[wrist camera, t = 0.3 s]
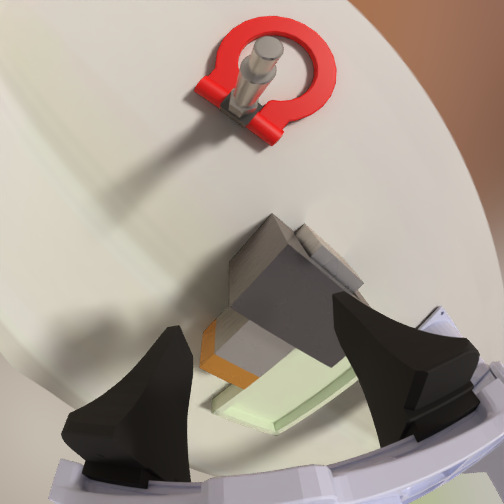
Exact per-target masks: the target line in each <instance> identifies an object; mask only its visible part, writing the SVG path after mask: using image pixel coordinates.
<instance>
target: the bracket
mask: <svg viewBox="0 0 504 504" xmlns="http://www.w3.org/2000/svg"><path fill="white" fill-rule="evenodd" d="M342 291H345V292H347V293H349V294H350V295H352V296H353V297H355V298H356V299H358V300H359V301H361V302H362V303H364V304H365V305H367V306H369V304H368V303H367V302H366V300H365V299H364V298H363V296H362V295H361V294H360V292H359V291H358V290H357V291H356V292H355V293H354V294H352V293H351V292H350V291H349V290H348V289H346V288H345V287H344V286H343V285H342V284H341V283H340V282H338V281H337V280H336V279H335V278H334V277H332V276H331V275H330V274H329V273H328V272H327V271H325V270H324V269H323V268H322V267H321V266H320V265H318V264H317V263H316V262H315V261H314V260H312V259H311V258H310V257H309V256H308V255H307V253H306V251H305V250H304V248H303V247H302V245H301V244H300V242H299V240H298V239H297V237H296V236H295V234H294V232H293V231H292V230H291V229H290V228H289V227H288V226H287V225H286V224H284V223H283V222H282V221H281V220H280V219H278V218H277V217H276V216H275V215H273V214H271V215H270V216H269V217H268V218H267V220H266V221H265V222H264V223H263V224H262V225H261V226H260V228H259V229H258V230H257V231H256V232H255V233H254V234H253V236H252V237H251V238H250V239H249V240H248V241H247V242H246V244H245V245H244V246H243V247H242V248H241V249H240V250H239V252H238V253H237V254H236V255H235V256H234V257H233V258H232V260H231V261H230V262H229V307H230V308H232V309H233V310H235V311H236V312H238V313H239V314H241V315H243V316H244V317H246V318H247V319H249V320H251V321H252V322H254V323H255V324H257V325H259V326H260V327H262V328H263V329H265V330H267V331H268V332H270V333H272V334H273V335H275V336H277V337H278V338H280V339H282V340H283V341H285V342H287V343H288V344H290V345H292V346H293V347H295V348H297V349H298V350H300V351H302V352H304V353H305V354H307V355H309V356H311V357H312V358H314V359H316V360H318V361H319V362H321V363H323V364H325V365H327V366H328V367H330V368H332V367H333V366H335V365H336V364H337V363H338V362H339V361H341V360H342V359H343V358H344V357H345V356H346V355H345V353H344V351H343V349H342V348H341V346H340V343H339V341H338V338H337V335H336V332H335V330H334V320H333V301H332V294H334V293H338V292H342ZM369 307H370V306H369ZM370 308H371V307H370Z"/></svg>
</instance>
